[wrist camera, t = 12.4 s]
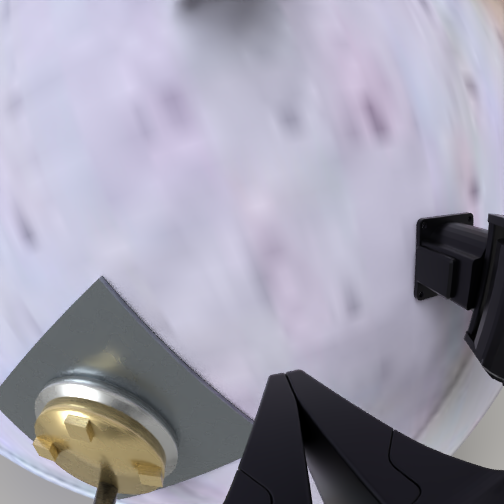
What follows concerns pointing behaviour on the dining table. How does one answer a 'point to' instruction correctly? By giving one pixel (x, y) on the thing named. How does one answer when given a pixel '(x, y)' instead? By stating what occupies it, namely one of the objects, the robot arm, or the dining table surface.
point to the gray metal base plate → (127, 385)
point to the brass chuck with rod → (100, 447)
